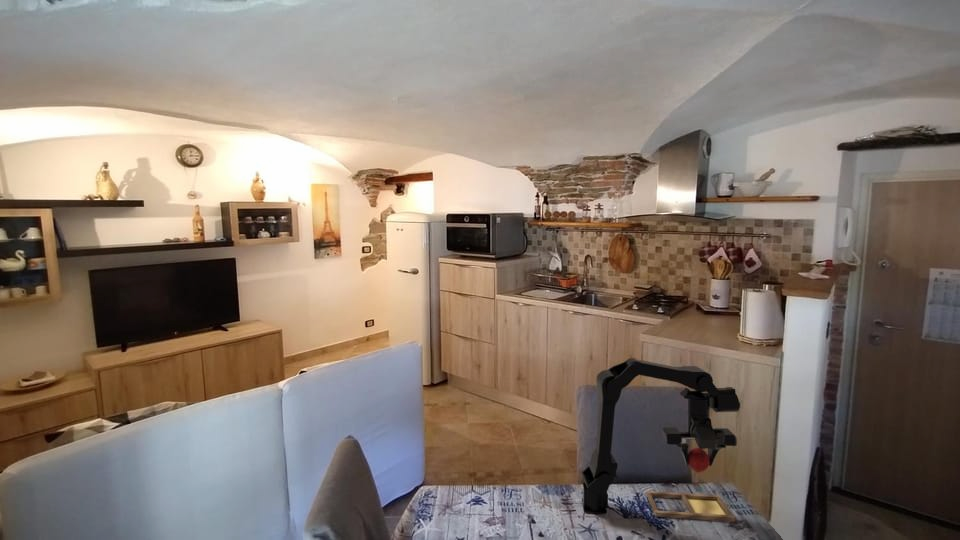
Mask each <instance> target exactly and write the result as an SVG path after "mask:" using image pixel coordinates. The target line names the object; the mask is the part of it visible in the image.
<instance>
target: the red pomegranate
mask: <svg viewBox="0 0 960 540" xmlns="http://www.w3.org/2000/svg"><path fill="white" fill-rule="evenodd" d="M688 459H689V465H688V466H689V467H690V468H691V469H692V470H693V471H694V472H695V473H702V472H704V471H706V470H707V469H708V468H709V467H710V466H709V463H710V460H709V457H708V452H706V451H705V449H701V448H699V447H698V446H697V445H696V447H694V448H692V449H690V450H689V451H688Z"/></svg>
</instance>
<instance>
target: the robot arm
mask: <svg viewBox="0 0 960 540" xmlns="http://www.w3.org/2000/svg"><path fill="white" fill-rule="evenodd" d="M638 376H642V377H647V378H653V379H658V380H661V381H662V380H663V381H669V382H674V383H677V384H680V385H683V386H685V388H684V389H683V390H681V391H680V392H679V395H680V396H681V397H682V398H683V399H685V400H686V399H687V407H686V408H687V409H686V410H687V411H686V414H685V415H686V417H687V418H686V419H687V421H686V422H687V425H686V427H685V428H686V431H680V430H679V429H678V428H677V427H667V426H666V427H665V426H664V427H663V429H662V430H661V436H662V438H663V439H664V441H665V443H666V444H667V445H674V446H675V445H676V446H677V447H678V448H679V449H680V452H681V455H682V457H683V460H684V463H685V465H686V466H689V459H688V453H689V451H688V449H689V444H687V440H695V442H696V447H697V446H698V447H699V448H701V449H703V450H705V449H707V455H708V457H709V460H710V463H709V466H708V467H711V466H712V465H713V463H714V461H715V458H716V456H717V454H718V453H719V451H720V450H722V449H725V448H727V447H729V446H731V447H736V446H737V445H738V439H737V438H738V437H737V436H736V435H735V434H734V433H733V431H731V429H729V428H724V427H721V428H720V427H719V428H718V427H715V428H714V427H713V425H712V419H711V418H710V417H711V415H710V409H712V410H713V411H714V412H715V413H737V412H739V410H740V408H741V403H740V400H739V396H738V394H737V393H736V392H737V391H736V388H733V387H732V386H727V387H716V385H715V384H714V380H713V376H712V375H711V374H710V373H709V372H707V371H706V370H704V369H702V368H701V367H699V366H695V365H683V366H674V365H673V366H672V365H667V364H662V363H657V362H652V361H647V360H642V359H637V358H634V357H630V358H628V359H626V360H625V361H623V362H621V363H617V364H615V365H613V366H611V367H609V368H608V369H603V370H601V371H600V372H599V373H597V375H596V379H595V380H596V389H597V395H598V400H599V401H598V402H599V405H598V414H597V416H598V417H597V427H596V428H597V429H596V440H595V441H596V443H595V449H594V451H592V454H591V457H590V460H589V461H590V462H589V465H588V466H587V467H585V469H584V470H582V471H581V475H582V478H583V481H584V482H582V498H581V504H582V508H583V513H585V514H586V513H587V514H603V515H607V514H608V509H609V493H608V490H609V487H610V486H611V485H613V483H614V482H615V478H616V479H617V478H618V476H617V469H618V464H619V463H618V461H617V460H616V459H615V457H614V455H613V453H612V446H613V438H614V423H615V422H614V421H615V413H616V412H615V410H616V407H617V404H618V402H619V401H620V398H621V394H622V391H623V389H624V388H626V387H627V386H629V385H630V384H631V382H632V381H633V380H634V379H635V378H636V377H638ZM689 388H690V389H689Z"/></svg>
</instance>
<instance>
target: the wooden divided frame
mask: <svg viewBox="0 0 960 540" xmlns="http://www.w3.org/2000/svg"><path fill="white" fill-rule="evenodd" d="M645 496H646V498H647V499H648V503H649V505H650V507H651V510H652V512H653V514H654V516H655V517H656V518H657V517H658V518H659V517H660V518H670V519H671V518H673V519H685V520H686V519H688V520H704V521H713V522H715V521H716V522H717V521H718V522H730V523H734V522H736V517H735V516H734V514H733V513H732V511H731V510H730V509H729V507H728V506H727V504H726V503H725V501H724V500H723V499H722V497H721V496H720V495H719V494H718V495H715V494H703V493H702V494H701V493H685V492H683V493H682V492H669V491H654V490H653V491H652V490H646V491H645ZM654 498H664V499H665V498H666V499H667V498H668V499H681V501H682V502H683V504H684V506H685V508H686V510H687V511H688V512H684V511H670V510H667V511H666V510H659V508H658V506H657V505H656V503H655V500H654Z"/></svg>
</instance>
